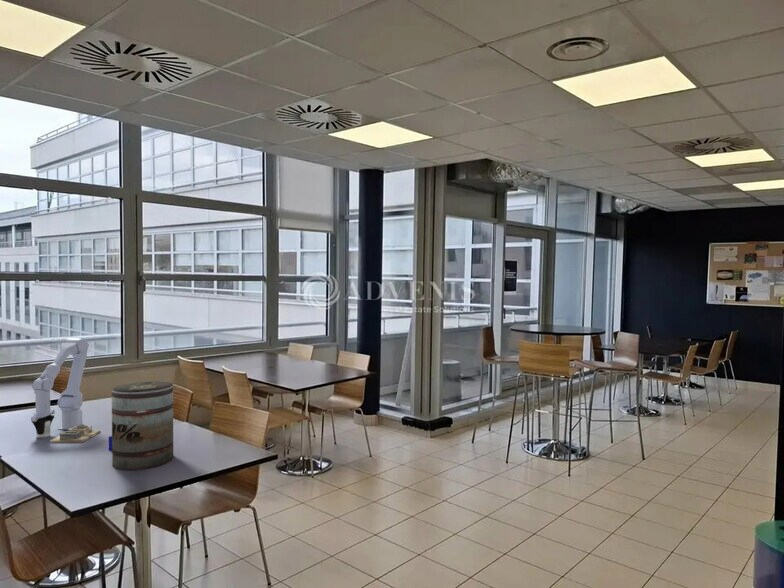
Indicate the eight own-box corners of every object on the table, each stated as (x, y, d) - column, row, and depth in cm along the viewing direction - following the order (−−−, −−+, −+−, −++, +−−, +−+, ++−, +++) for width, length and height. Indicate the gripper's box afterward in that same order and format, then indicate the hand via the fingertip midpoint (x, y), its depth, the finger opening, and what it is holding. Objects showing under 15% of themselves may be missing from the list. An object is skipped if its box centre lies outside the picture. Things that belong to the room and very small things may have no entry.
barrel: (108, 458, 220) (107, 385, 219) (166, 448, 233) (165, 379, 232) (116, 474, 201) (116, 394, 201) (179, 462, 214) (179, 388, 214)
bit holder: (70, 432, 257) (70, 425, 256) (100, 432, 257) (100, 425, 257) (50, 442, 241) (49, 434, 241) (81, 442, 241) (81, 434, 241)
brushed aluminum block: (41, 435, 252) (41, 420, 252) (50, 435, 252) (50, 420, 252) (36, 437, 248) (36, 422, 248) (45, 437, 248) (44, 422, 248)
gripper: (43, 400, 257) (44, 428, 257) (24, 407, 243) (24, 437, 243) (58, 400, 257) (59, 428, 258) (39, 407, 243) (40, 437, 243)
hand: (43, 433), depth 250 cm, fingers closed on brushed aluminum block, 4 cm apart
